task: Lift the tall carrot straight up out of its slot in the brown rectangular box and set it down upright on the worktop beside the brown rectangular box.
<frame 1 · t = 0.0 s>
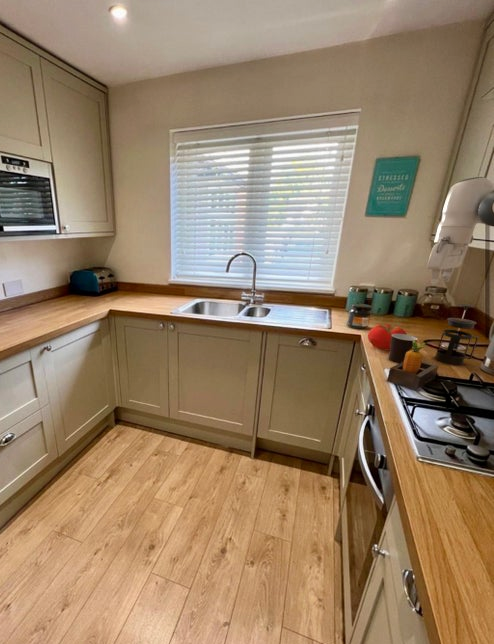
hand: (439, 282, 106), 33 cm above the countertop, tool pointing down, fingers open, 8 cm apart
french press: (449, 361, 133), on the countertop
supplement container: (356, 327, 179), on the countertop
coffee mug: (400, 360, 133), on the countertop
brown rectangular box: (410, 380, 115), on the countertop
tomato: (384, 348, 147), on the countertop
carrot: (406, 383, 113), resting in brown rectangular box
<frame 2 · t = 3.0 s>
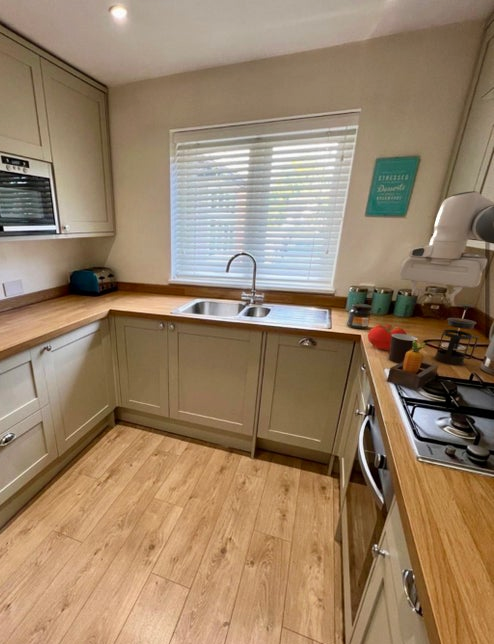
hand: (431, 297, 103), 29 cm above the countertop, tool pointing down, fingers open, 8 cm apart
nothing on the countertop moved.
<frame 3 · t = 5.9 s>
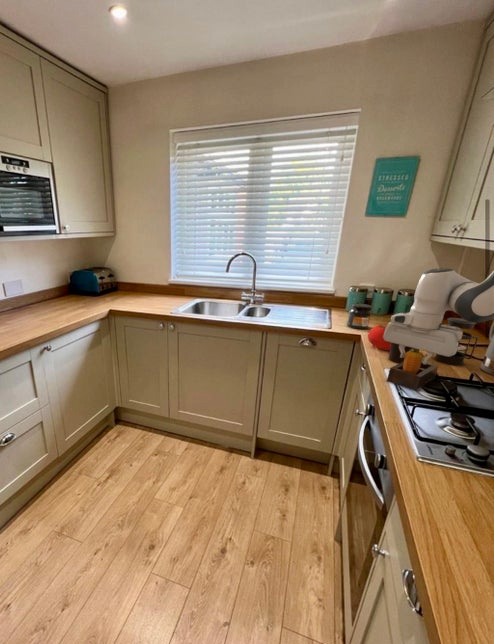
hand: (412, 360, 110), 8 cm above the countertop, tool pointing down, fingers closed on carrot, 4 cm apart
carrot: (406, 383, 113), resting in brown rectangular box, touching gripper
everything else where it was.
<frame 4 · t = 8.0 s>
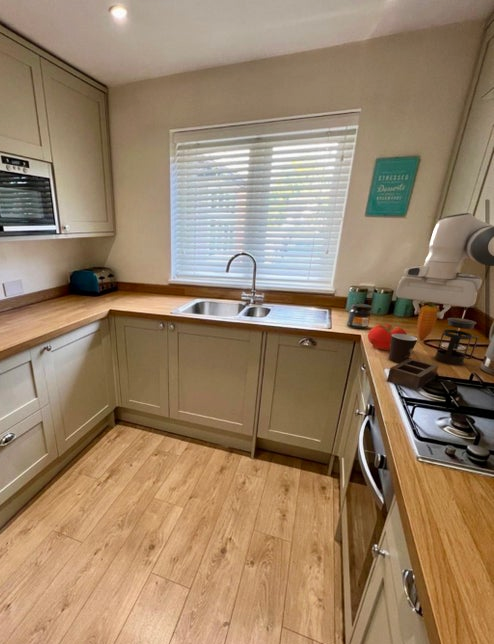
hand: (427, 316, 104), 23 cm above the countertop, tool pointing down, fingers closed on carrot, 4 cm apart
carrot: (421, 341, 107), point 15 cm above the countertop, touching gripper
everything else where it was.
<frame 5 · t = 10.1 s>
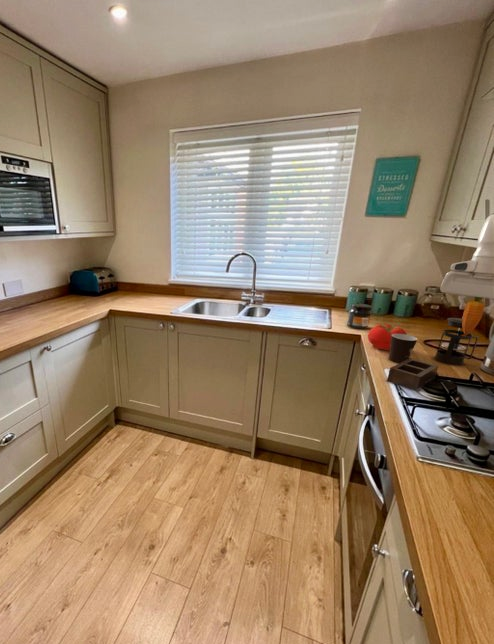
hand: (473, 311, 105), 25 cm above the countertop, tool pointing down, fingers closed on carrot, 4 cm apart
carrot: (465, 335, 108), point 17 cm above the countertop, touching gripper
everything else where it was.
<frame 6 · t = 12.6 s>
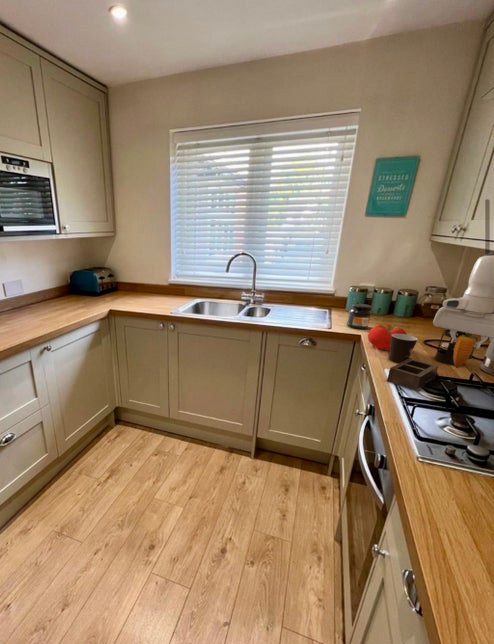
hand: (464, 345, 110), 13 cm above the countertop, tool pointing down, fingers closed on carrot, 4 cm apart
carrot: (456, 368, 113), point 5 cm above the countertop, touching gripper
everything else where it was.
when the fingers open (8 cm above the countertop, at t = 14.3 s): carrot stays where it is, on the countertop.
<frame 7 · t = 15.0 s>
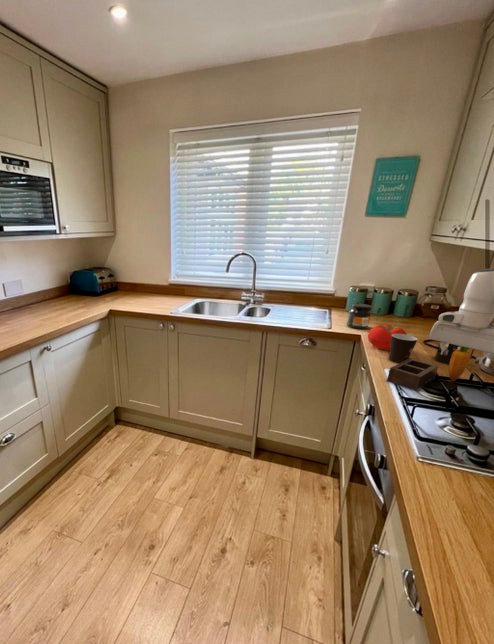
hand: (460, 358, 111), 8 cm above the countertop, tool pointing down, fingers open, 8 cm apart
carrot: (452, 382, 115), on the countertop
everything else where it was.
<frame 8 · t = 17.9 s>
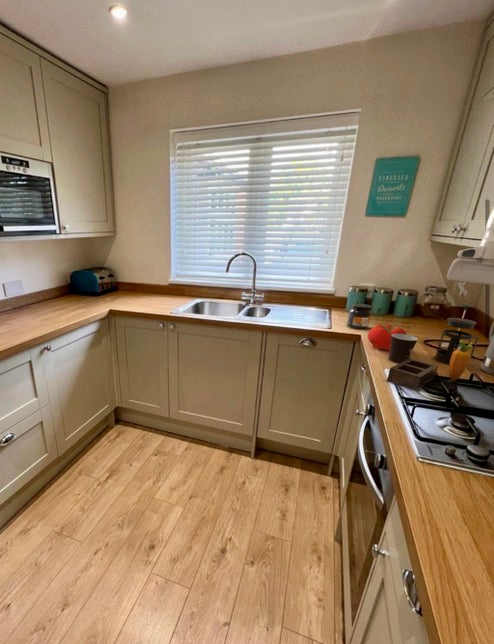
hand: (480, 298, 104), 29 cm above the countertop, tool pointing down, fingers open, 8 cm apart
nothing on the countertop moved.
at the end: carrot inside the target area (0.0 cm from its centre), on the countertop; carrot tilted 0°; carrot touching countertop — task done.
